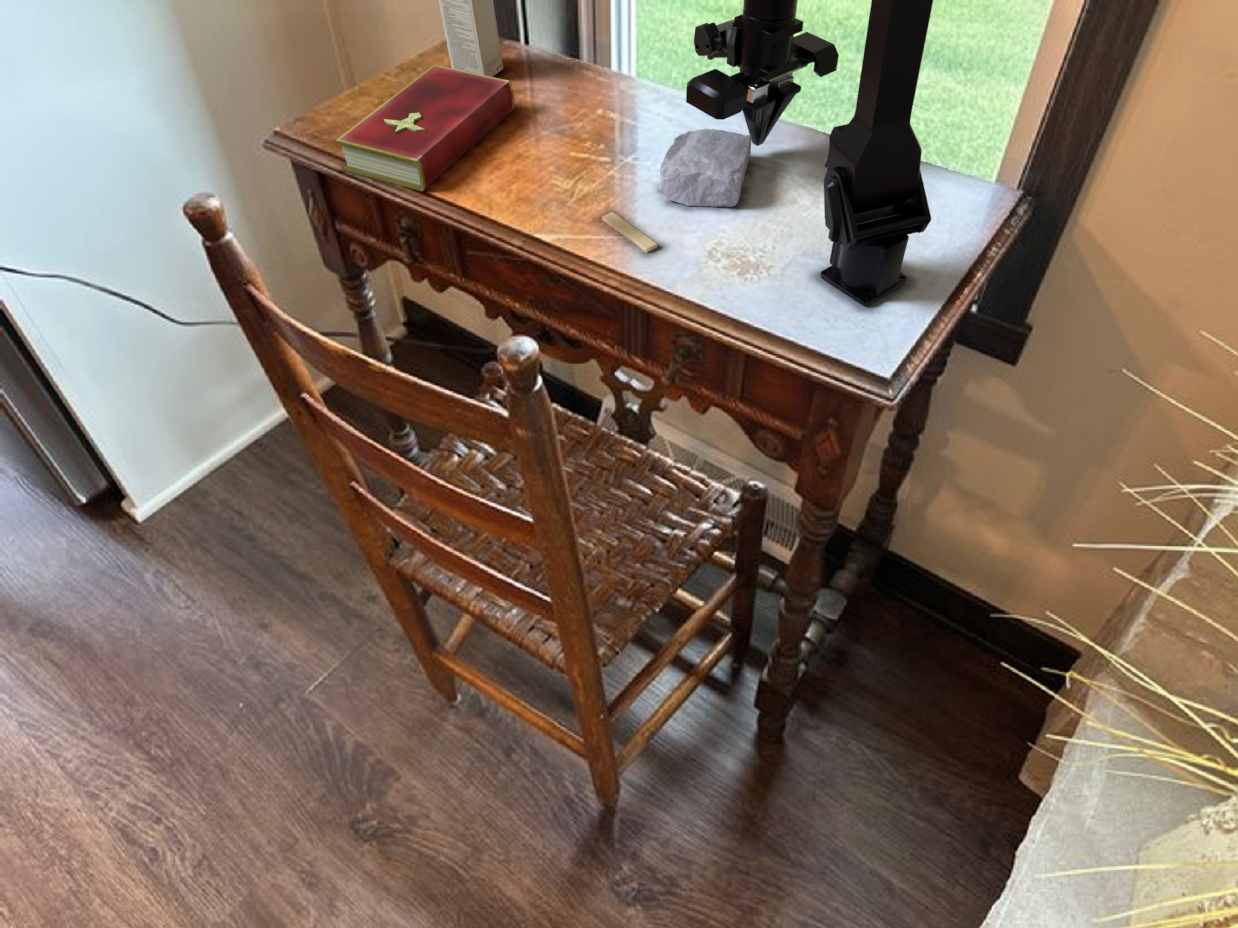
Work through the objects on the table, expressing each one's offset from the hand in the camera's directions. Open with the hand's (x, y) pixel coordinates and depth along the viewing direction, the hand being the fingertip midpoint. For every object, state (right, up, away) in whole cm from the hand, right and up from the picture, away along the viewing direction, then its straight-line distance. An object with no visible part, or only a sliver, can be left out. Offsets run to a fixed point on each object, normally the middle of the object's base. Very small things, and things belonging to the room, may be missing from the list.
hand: (757, 143), depth 110 cm
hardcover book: (-40, +2, +6) cm, 41 cm away
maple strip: (-16, -13, -9) cm, 22 cm away
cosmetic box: (-36, +16, +18) cm, 44 cm away
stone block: (-7, -5, -2) cm, 9 cm away
